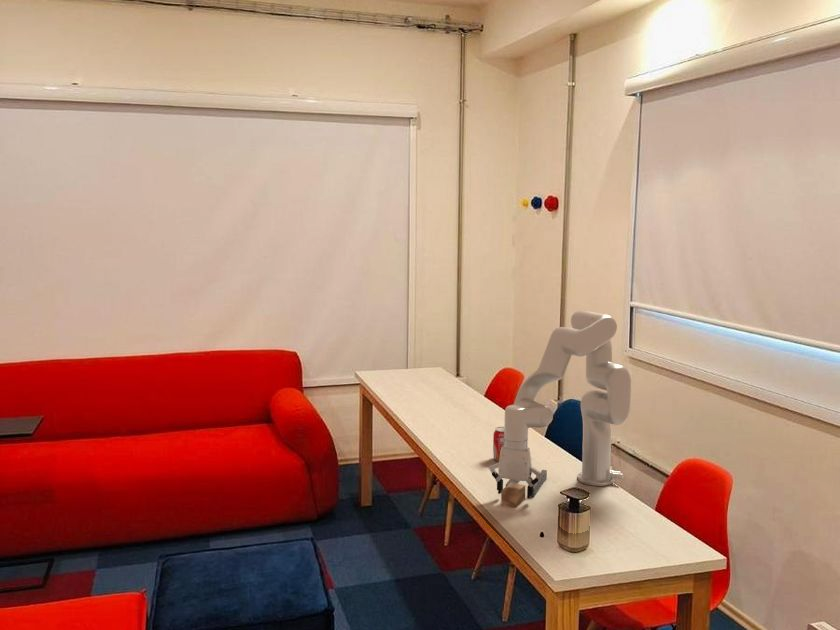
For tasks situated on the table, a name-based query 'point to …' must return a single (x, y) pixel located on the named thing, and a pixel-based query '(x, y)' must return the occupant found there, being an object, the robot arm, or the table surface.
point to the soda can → (497, 442)
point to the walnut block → (513, 495)
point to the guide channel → (536, 485)
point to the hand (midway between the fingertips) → (514, 494)
